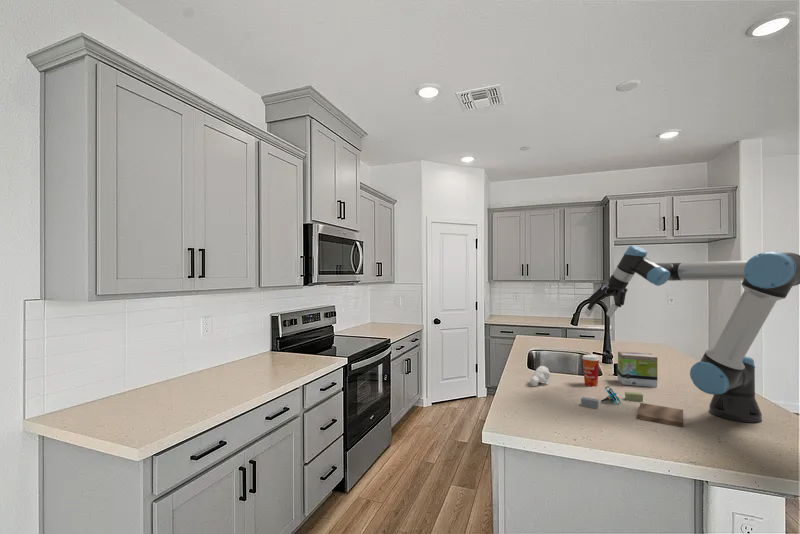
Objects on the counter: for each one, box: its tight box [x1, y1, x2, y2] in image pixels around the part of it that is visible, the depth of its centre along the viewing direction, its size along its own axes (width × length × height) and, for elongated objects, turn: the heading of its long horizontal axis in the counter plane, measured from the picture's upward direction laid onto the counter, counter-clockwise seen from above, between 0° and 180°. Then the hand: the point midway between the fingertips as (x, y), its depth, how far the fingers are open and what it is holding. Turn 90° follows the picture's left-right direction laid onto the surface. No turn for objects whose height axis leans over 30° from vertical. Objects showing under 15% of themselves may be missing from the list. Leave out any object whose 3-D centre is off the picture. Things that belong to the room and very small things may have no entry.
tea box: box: [617, 350, 658, 389], centre depth 191 cm, size 15×10×15 cm, turn 73°
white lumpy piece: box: [529, 365, 551, 387], centre depth 190 cm, size 6×8×12 cm
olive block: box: [624, 391, 644, 403], centre depth 167 cm, size 6×3×3 cm, turn 74°
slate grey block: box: [580, 396, 600, 409], centre depth 159 cm, size 6×3×3 cm, turn 55°
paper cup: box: [581, 354, 600, 387], centre depth 189 cm, size 8×8×14 cm
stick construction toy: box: [600, 385, 622, 406], centre depth 165 cm, size 12×7×8 cm
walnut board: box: [636, 402, 684, 428], centre depth 148 cm, size 14×16×2 cm
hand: (597, 315), depth 185 cm, fingers open, 13 cm apart
